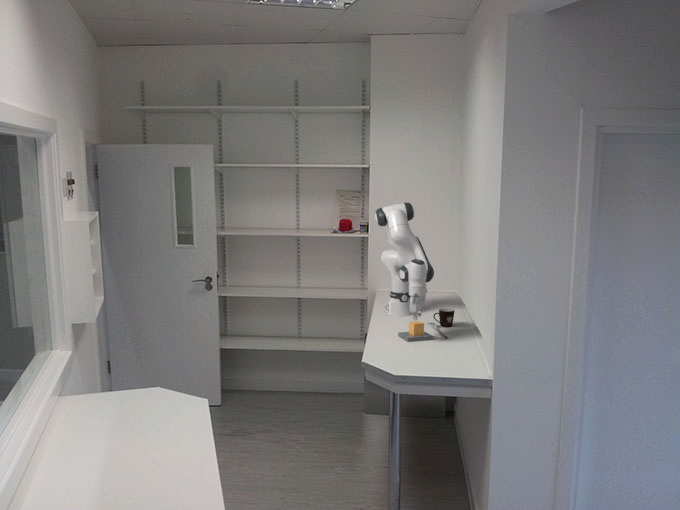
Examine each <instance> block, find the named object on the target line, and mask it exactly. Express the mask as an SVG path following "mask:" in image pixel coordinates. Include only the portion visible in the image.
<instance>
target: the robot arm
mask: <svg viewBox="0 0 680 510" xmlns="http://www.w3.org/2000/svg"><path fill="white" fill-rule="evenodd" d="M414 217H415V209H414V206H413V205H412V203H410V202H402V203H401V202H400V203H394V204H391V205H387V206H384V207H379V208H377V209H376V211H375V214H374V219H375V222H376V224H377V225H378V226H379V227H385V229H386V230H385V231H386V235H387V241H388V244H389V245H390V247H393V248H394V249H392V248H391V249H386V250H383V251H382V252H381V255H380V262H381V264H382V266H384V267H385V268H386V271H387V272H388V273H389V276H390V283H391V284H390V286H391V287H390V292H389V298H388V299H387V300H386V301H385V302H384V303H383V307H384V309H383V310H382V312H383V313H384V315H385V316H391V317H398V318H399V317H400V318H404V317H410V316H412V319H413V322H415V321H418V317H421V316H422V311H423V308H424V307H425V305H426V297H427V292H428V288H427V283H429V282H430V281H432V280H433V278H434V276H435V270H434V267H433V266H432V264H431V263H430V261H429V258H428V257H427V254H426V251H425V249H424V246H423V245H422V242H421V240H420V238H419V237H418V236H417V235H415V234H414V233H413V231H412V230H411V228H410V224H409V221H412V220H413V219H414Z"/></svg>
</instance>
